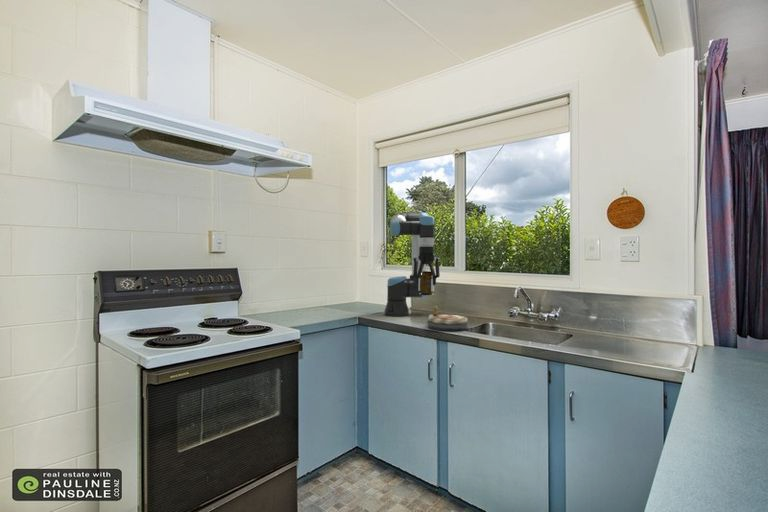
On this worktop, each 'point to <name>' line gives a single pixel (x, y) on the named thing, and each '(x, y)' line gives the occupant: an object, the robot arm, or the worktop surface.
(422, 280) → the condiment
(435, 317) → the turntable
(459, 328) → the turntable base
